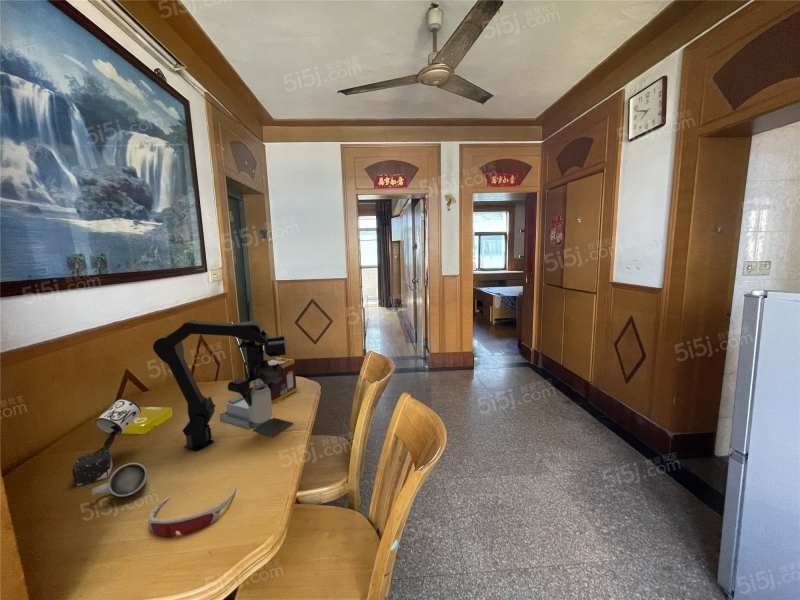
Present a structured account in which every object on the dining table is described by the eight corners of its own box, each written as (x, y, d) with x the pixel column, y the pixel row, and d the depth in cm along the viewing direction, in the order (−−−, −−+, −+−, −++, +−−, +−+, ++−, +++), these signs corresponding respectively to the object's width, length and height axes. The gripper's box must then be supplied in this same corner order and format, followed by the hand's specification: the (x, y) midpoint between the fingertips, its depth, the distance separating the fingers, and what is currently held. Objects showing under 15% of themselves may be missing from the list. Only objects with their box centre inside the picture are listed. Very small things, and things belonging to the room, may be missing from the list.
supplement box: (255, 400, 145) (252, 367, 143) (280, 387, 159) (277, 356, 157) (272, 404, 141) (269, 369, 139) (297, 390, 155) (294, 359, 153)
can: (267, 424, 111) (263, 391, 109) (245, 424, 112) (242, 391, 110) (276, 413, 119) (273, 382, 117) (256, 413, 119) (253, 382, 117)
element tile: (175, 416, 133) (174, 405, 132) (143, 437, 118) (141, 425, 117) (141, 416, 134) (140, 405, 134) (105, 436, 119) (103, 424, 119)
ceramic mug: (141, 496, 90) (152, 465, 94) (139, 496, 84) (151, 463, 88) (92, 496, 85) (105, 463, 89) (86, 496, 79) (101, 461, 83)
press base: (272, 437, 115) (272, 429, 114) (219, 422, 127) (219, 414, 126) (293, 424, 124) (292, 416, 123) (242, 410, 136) (241, 403, 135)
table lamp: (110, 400, 106) (102, 393, 99) (146, 404, 110) (141, 398, 102) (67, 490, 94) (54, 490, 86) (109, 491, 97) (100, 492, 89)
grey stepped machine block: (249, 423, 123) (247, 406, 122) (227, 417, 128) (226, 401, 127) (262, 416, 128) (260, 400, 127) (240, 411, 133) (239, 395, 132)
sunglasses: (132, 550, 71) (131, 527, 71) (171, 505, 87) (170, 486, 88) (219, 536, 74) (218, 513, 74) (240, 495, 91) (239, 477, 91)
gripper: (247, 370, 100) (252, 418, 102) (292, 353, 116) (296, 394, 119) (224, 365, 105) (229, 411, 107) (270, 349, 122) (274, 389, 124)
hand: (259, 401), depth 114 cm, fingers closed on can, 7 cm apart
